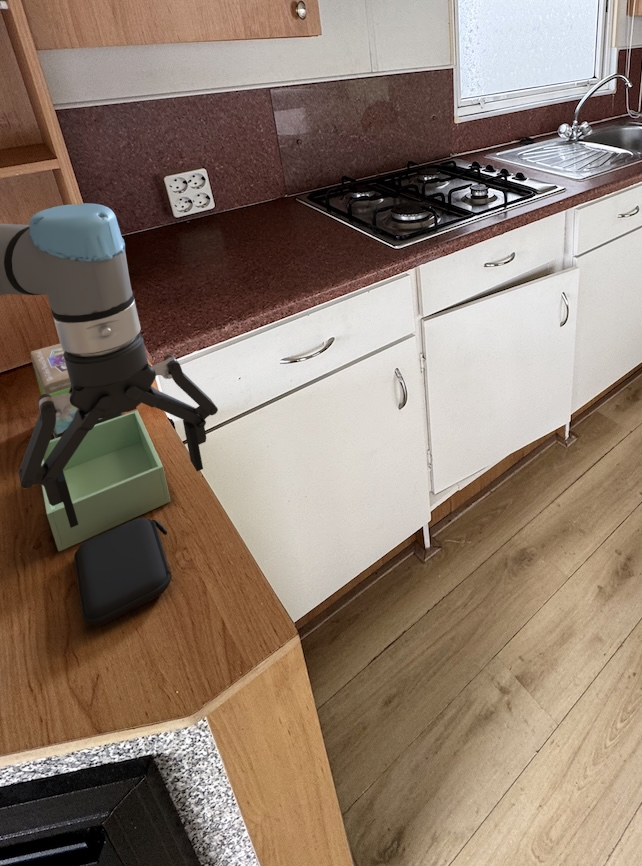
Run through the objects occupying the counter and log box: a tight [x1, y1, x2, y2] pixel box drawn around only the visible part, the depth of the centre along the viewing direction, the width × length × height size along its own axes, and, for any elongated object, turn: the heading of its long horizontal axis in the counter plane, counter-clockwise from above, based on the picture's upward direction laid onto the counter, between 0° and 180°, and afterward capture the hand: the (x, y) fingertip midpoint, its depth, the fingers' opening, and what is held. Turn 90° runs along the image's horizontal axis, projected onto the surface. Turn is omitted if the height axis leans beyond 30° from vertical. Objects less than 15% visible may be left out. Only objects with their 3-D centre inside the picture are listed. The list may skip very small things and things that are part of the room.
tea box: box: [29, 343, 124, 439], centre depth 103 cm, size 15×10×15 cm
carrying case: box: [73, 517, 172, 627], centre depth 77 cm, size 11×3×15 cm
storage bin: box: [41, 409, 171, 553], centre depth 90 cm, size 14×18×7 cm
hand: (138, 490), depth 72 cm, fingers open, 13 cm apart
